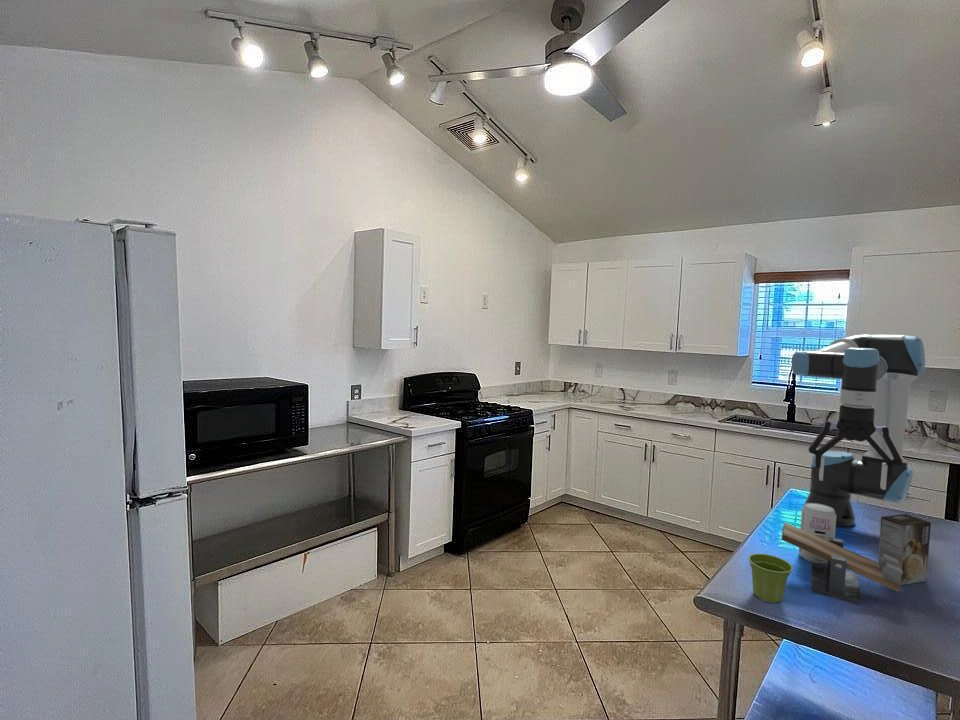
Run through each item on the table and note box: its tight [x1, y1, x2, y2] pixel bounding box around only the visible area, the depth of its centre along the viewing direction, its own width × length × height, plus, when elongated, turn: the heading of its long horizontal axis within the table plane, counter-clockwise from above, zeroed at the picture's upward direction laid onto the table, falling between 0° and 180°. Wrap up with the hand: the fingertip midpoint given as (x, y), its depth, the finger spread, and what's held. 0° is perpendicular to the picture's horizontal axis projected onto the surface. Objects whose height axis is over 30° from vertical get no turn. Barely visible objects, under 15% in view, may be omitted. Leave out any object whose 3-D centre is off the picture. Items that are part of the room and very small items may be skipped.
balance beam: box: [781, 522, 903, 593], centre depth 130 cm, size 10×25×4 cm, turn 57°
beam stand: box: [810, 537, 863, 606], centre depth 130 cm, size 17×10×10 cm, turn 147°
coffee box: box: [877, 513, 932, 586], centre depth 134 cm, size 9×6×16 cm
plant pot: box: [747, 553, 794, 604], centre depth 124 cm, size 9×9×9 cm
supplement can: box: [798, 503, 837, 565], centre depth 145 cm, size 8×8×15 cm
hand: (851, 483), depth 137 cm, fingers open, 13 cm apart
